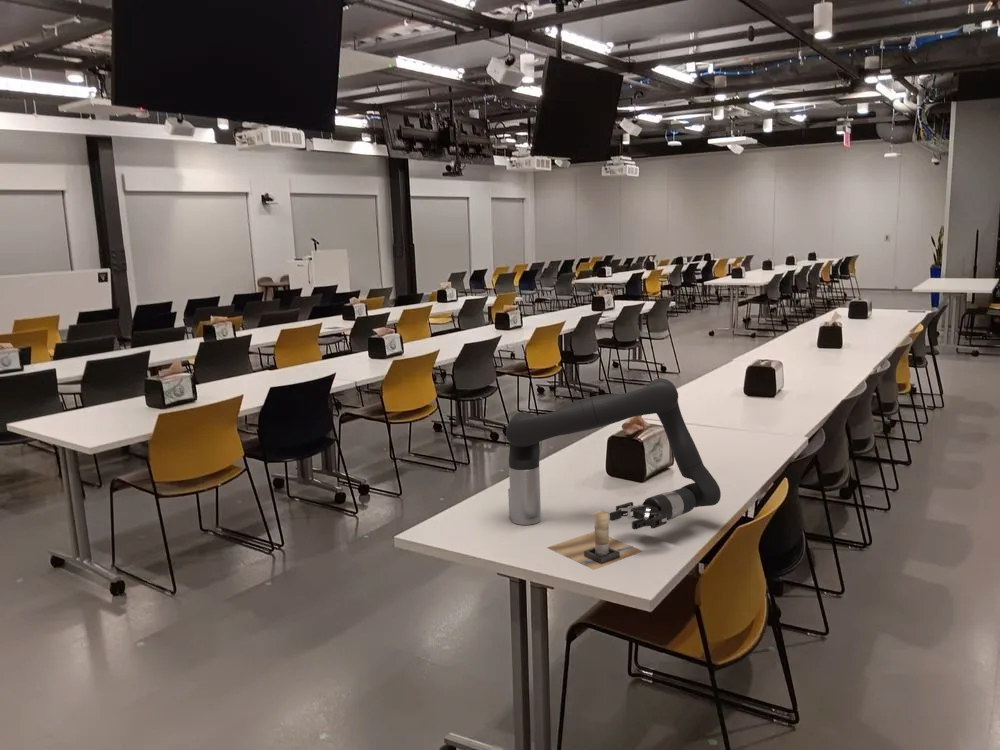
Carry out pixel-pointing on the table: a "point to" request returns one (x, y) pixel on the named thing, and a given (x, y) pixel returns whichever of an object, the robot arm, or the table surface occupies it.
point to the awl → (601, 533)
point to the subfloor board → (585, 542)
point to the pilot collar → (611, 556)
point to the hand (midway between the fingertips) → (621, 521)
